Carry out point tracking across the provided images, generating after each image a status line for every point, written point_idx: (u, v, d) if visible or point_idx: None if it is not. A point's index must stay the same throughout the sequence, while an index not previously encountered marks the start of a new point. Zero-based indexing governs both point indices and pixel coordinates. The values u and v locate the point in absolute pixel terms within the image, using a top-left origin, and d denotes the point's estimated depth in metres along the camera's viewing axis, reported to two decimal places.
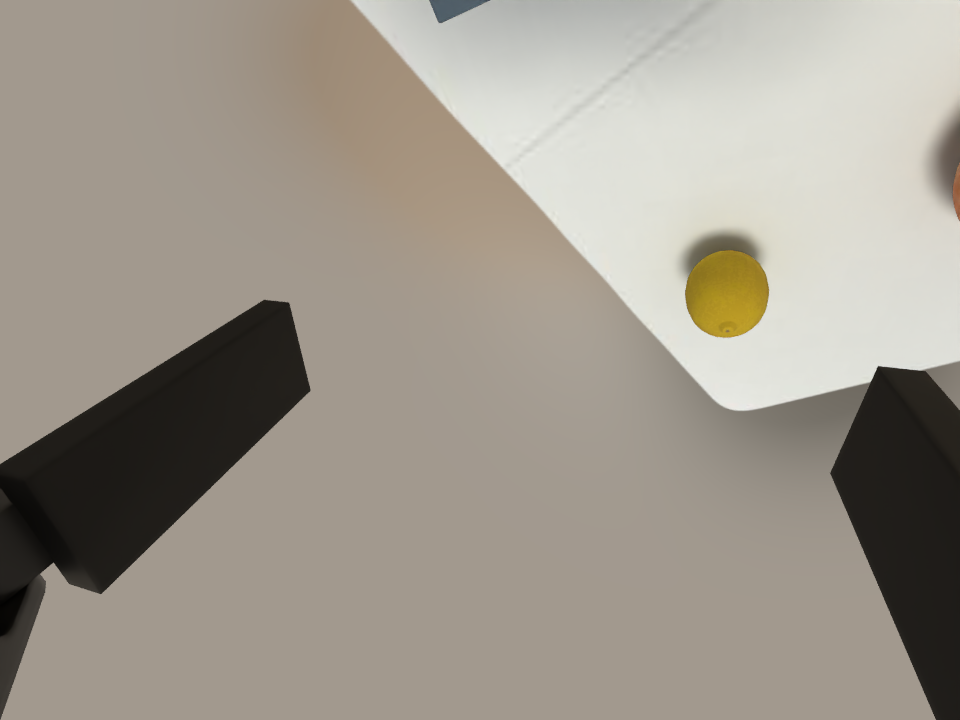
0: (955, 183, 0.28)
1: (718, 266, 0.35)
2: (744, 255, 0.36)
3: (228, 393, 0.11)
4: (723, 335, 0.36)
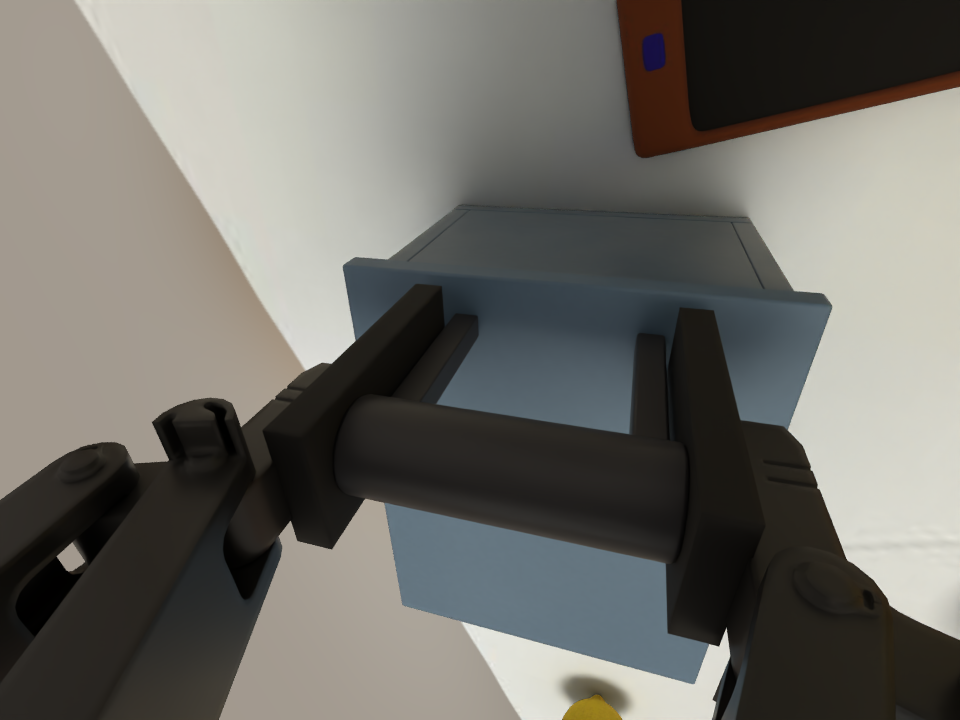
0: None
1: None
2: None
3: (406, 369, 0.12)
4: None
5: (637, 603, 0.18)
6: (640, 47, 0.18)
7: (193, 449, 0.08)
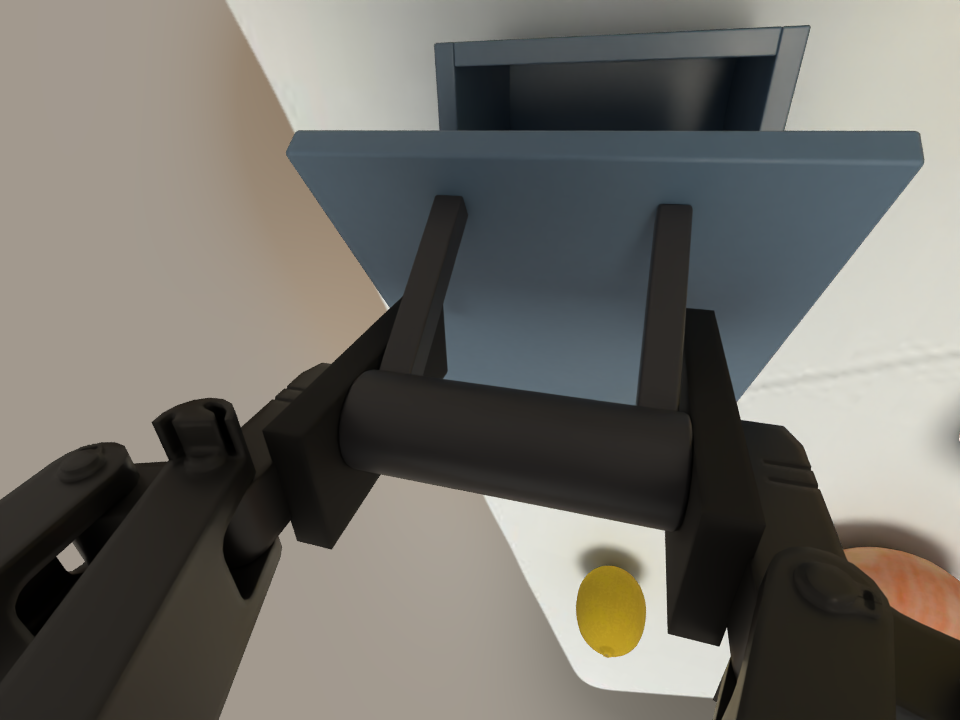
0: None
1: (610, 588, 0.39)
2: (632, 581, 0.41)
3: None
4: None
5: None
6: None
7: (193, 449, 0.08)
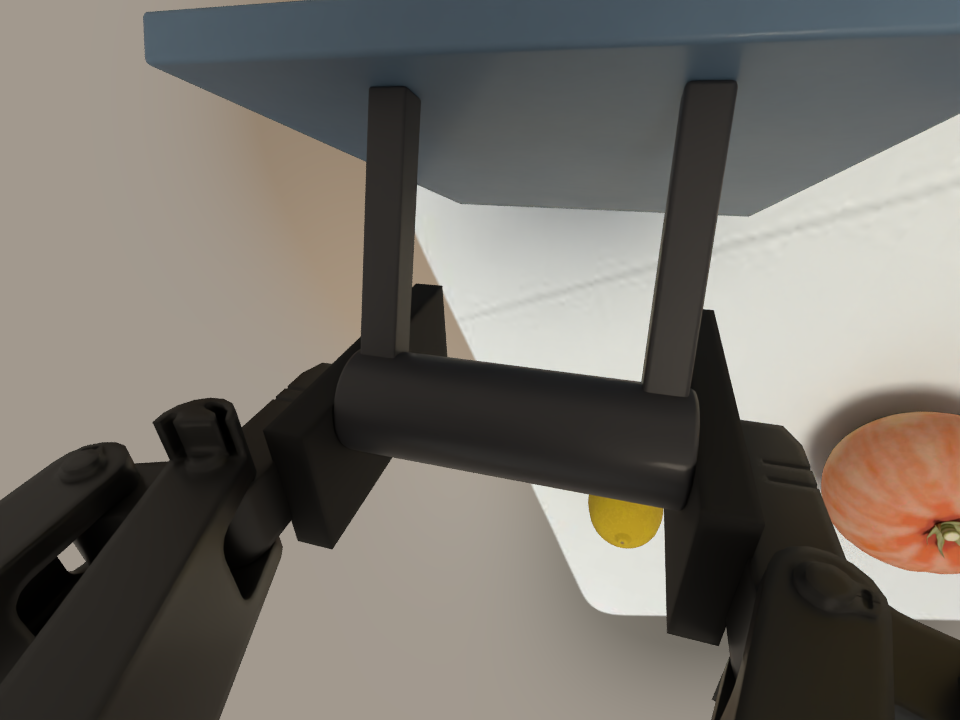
0: (825, 471, 0.33)
1: None
2: None
3: None
4: (616, 544, 0.36)
5: None
6: None
7: (194, 449, 0.08)
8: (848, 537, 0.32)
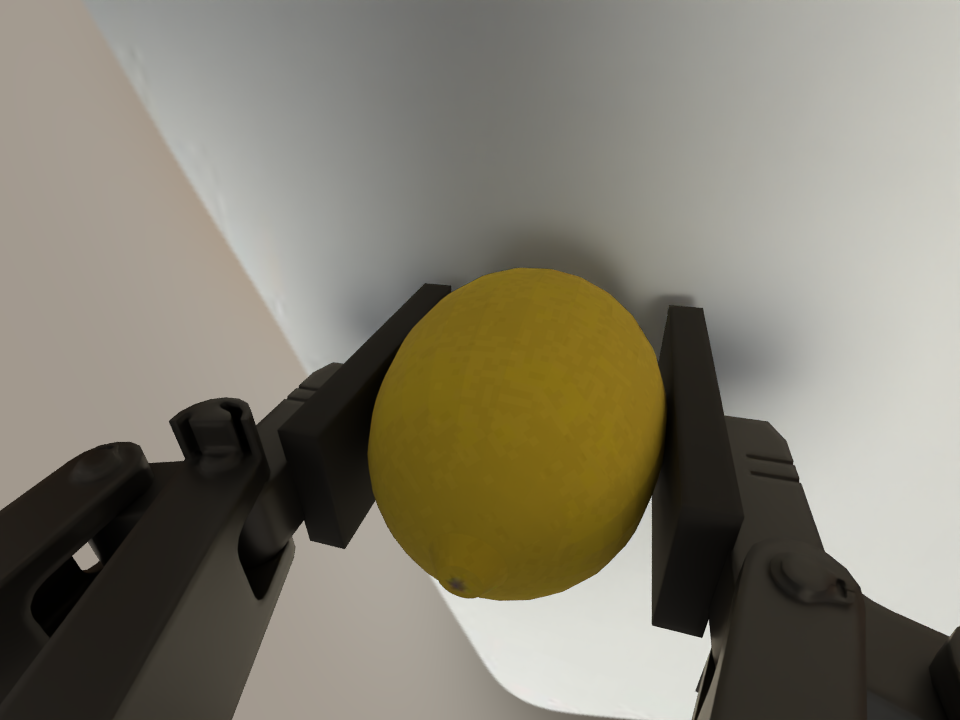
0: None
1: (505, 291, 0.09)
2: (608, 295, 0.10)
3: None
4: None
5: None
6: None
7: (210, 449, 0.08)
8: None
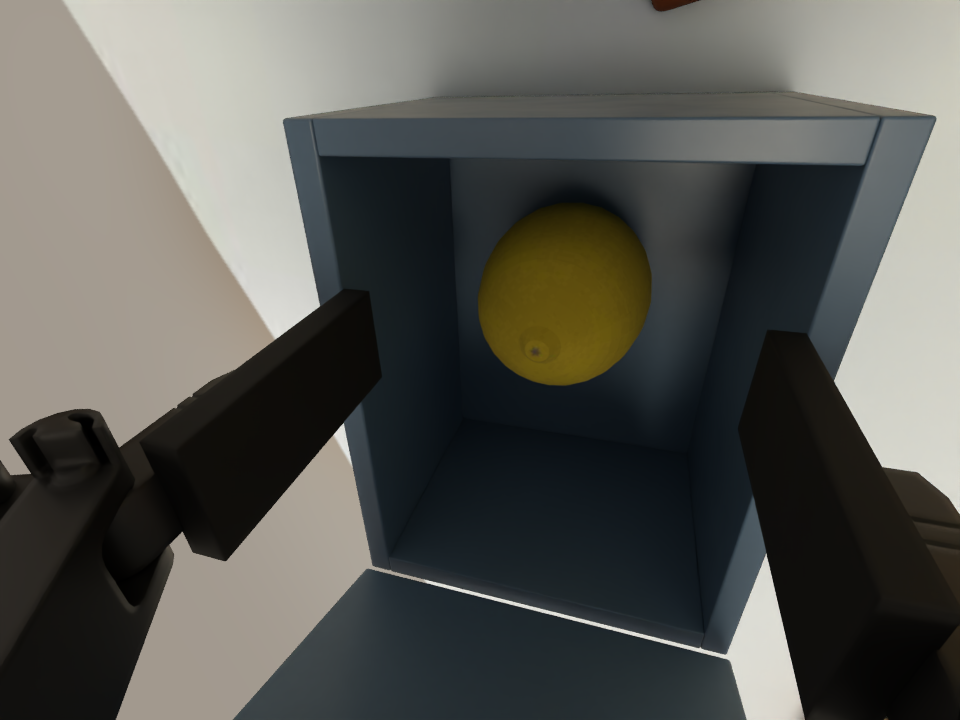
0: None
1: (558, 211, 0.15)
2: (618, 217, 0.16)
3: (322, 376, 0.12)
4: (529, 369, 0.15)
5: None
6: None
7: (61, 463, 0.08)
8: None
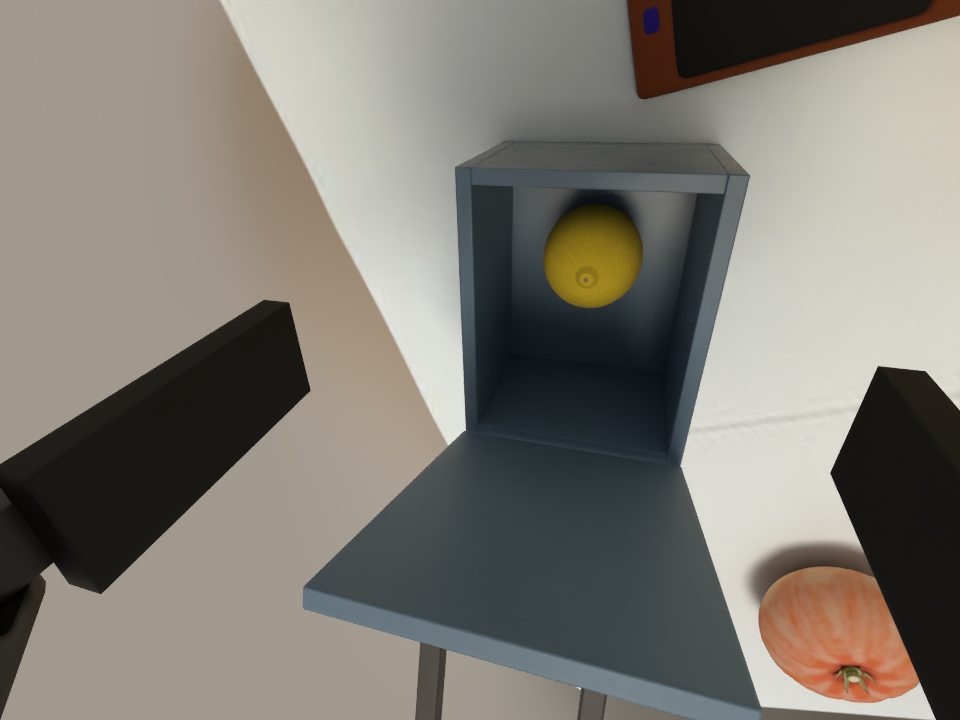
0: (760, 610, 0.40)
1: (590, 207, 0.27)
2: (622, 212, 0.28)
3: (228, 393, 0.11)
4: (579, 294, 0.26)
5: None
6: (642, 17, 0.26)
7: None
8: None
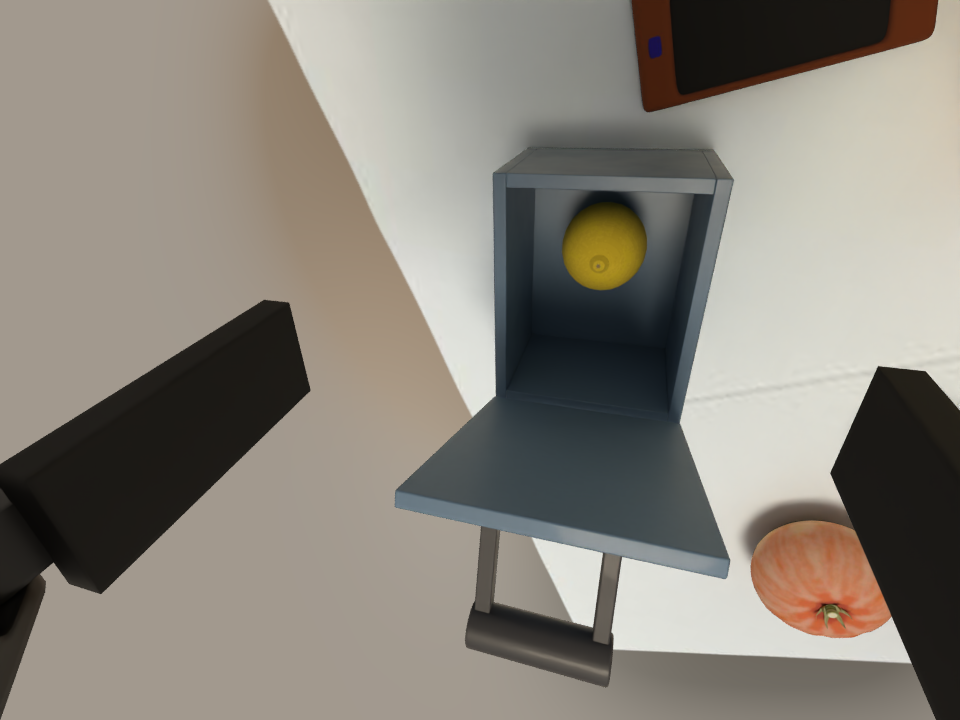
0: (752, 560, 0.45)
1: (602, 205, 0.32)
2: (629, 208, 0.33)
3: (228, 393, 0.11)
4: (593, 278, 0.31)
5: None
6: (647, 44, 0.30)
7: None
8: (768, 608, 0.44)
